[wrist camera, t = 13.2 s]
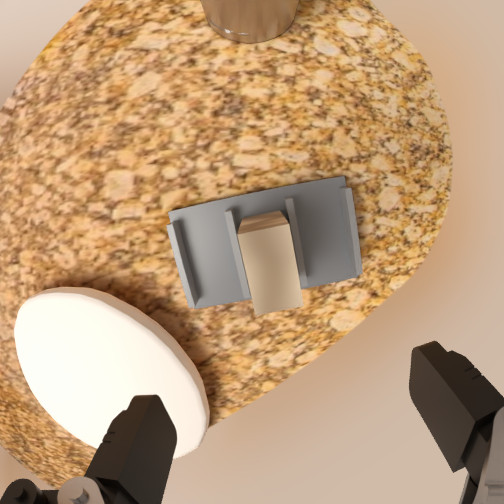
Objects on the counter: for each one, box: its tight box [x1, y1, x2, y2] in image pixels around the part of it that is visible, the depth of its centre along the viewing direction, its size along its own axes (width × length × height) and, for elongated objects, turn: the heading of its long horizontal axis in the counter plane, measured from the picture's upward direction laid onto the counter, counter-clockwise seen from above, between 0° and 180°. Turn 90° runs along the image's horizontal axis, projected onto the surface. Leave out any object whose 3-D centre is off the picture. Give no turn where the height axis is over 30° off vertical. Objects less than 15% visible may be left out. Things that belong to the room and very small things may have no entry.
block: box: [237, 210, 304, 315], centre depth 25 cm, size 4×6×8 cm, turn 12°
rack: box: [166, 176, 363, 309], centre depth 28 cm, size 17×10×3 cm, turn 102°
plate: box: [14, 287, 210, 459], centre depth 32 cm, size 28×6×27 cm
